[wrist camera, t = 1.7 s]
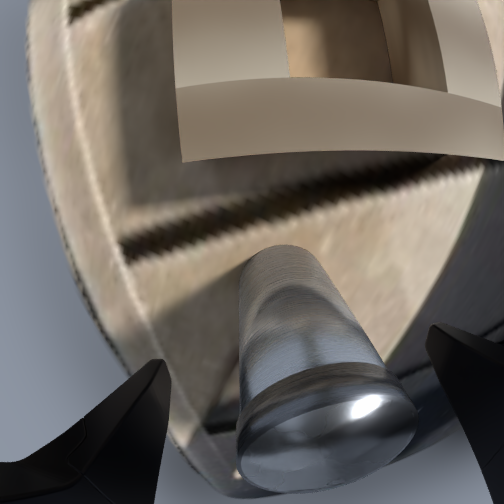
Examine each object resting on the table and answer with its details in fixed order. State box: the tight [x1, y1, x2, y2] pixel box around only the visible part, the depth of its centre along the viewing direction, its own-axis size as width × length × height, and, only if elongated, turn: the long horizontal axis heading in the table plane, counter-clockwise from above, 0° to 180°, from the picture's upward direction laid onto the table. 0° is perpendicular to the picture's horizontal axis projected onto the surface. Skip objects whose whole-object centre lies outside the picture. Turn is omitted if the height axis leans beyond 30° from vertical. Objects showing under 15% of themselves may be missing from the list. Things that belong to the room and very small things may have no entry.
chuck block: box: [172, 0, 504, 163], centre depth 8 cm, size 10×12×4 cm
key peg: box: [236, 245, 419, 493], centre depth 9 cm, size 4×4×9 cm
